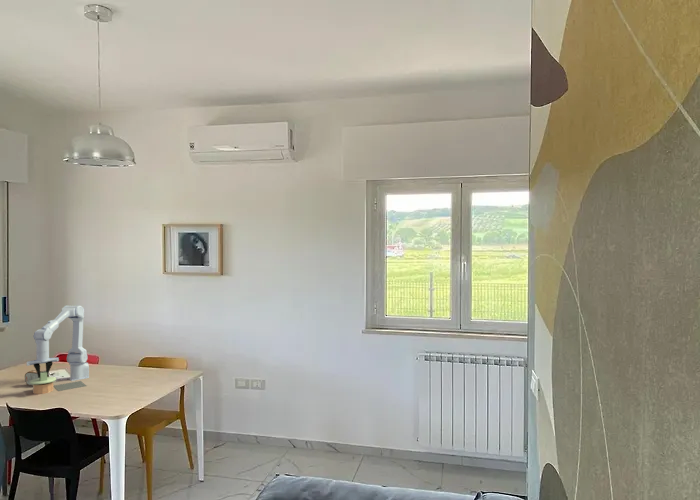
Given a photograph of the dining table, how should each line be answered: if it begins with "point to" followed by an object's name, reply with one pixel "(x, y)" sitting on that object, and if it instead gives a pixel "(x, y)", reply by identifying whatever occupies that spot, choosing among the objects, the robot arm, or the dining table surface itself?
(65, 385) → the mat
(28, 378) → the tin
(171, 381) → the dining table surface
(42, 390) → the bowl
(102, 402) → the dining table surface
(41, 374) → the lid
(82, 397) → the dining table surface
